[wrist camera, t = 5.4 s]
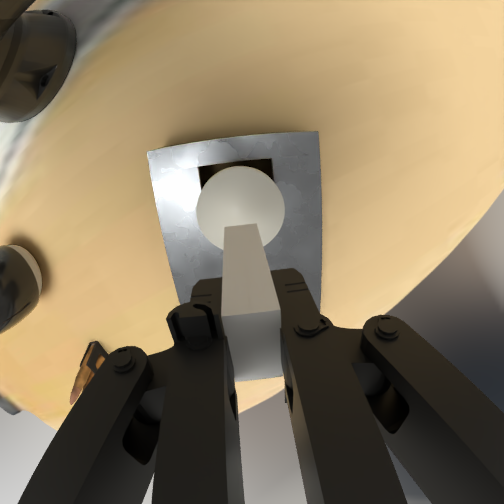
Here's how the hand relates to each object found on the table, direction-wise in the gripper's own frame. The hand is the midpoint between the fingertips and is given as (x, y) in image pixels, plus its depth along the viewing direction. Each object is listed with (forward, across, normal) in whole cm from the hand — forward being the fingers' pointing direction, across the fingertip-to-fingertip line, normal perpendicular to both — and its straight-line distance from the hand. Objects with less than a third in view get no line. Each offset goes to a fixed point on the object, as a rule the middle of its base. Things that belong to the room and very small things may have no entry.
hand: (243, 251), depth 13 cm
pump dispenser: (+16, -32, -6) cm, 36 cm away
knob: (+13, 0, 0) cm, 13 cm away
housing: (+16, 0, -7) cm, 18 cm away
